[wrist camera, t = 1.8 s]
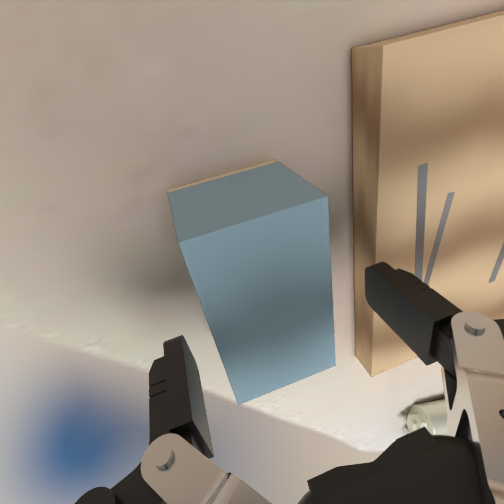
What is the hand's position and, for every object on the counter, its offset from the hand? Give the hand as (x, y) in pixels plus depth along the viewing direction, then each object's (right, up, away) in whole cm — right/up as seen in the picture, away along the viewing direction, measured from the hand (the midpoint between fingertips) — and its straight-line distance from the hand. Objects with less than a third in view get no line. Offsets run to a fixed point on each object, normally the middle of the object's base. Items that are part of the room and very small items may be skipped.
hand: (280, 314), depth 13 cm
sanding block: (-2, +2, +3) cm, 5 cm away
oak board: (+11, +5, +6) cm, 13 cm away
